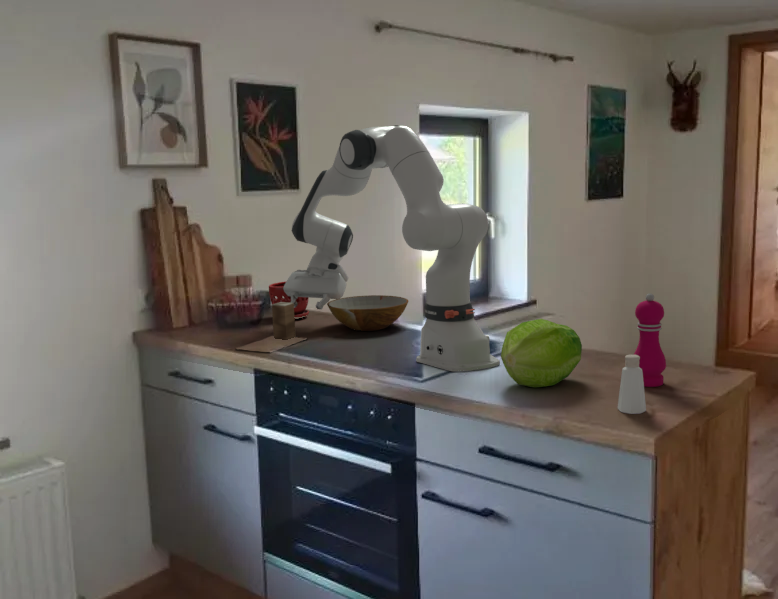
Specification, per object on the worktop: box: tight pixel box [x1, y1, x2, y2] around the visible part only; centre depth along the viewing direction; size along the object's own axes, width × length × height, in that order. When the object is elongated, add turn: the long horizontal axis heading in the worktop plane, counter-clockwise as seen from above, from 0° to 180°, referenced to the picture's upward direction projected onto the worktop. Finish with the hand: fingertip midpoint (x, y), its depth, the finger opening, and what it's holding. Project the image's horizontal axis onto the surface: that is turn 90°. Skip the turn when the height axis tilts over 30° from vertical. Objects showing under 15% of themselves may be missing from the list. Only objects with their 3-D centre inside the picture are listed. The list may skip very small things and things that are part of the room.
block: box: [271, 302, 297, 340], centre depth 235 cm, size 4×4×10 cm
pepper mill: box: [633, 293, 667, 388], centre depth 177 cm, size 7×7×20 cm
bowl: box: [326, 294, 409, 332], centre depth 250 cm, size 25×25×8 cm
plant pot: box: [268, 281, 310, 317], centre depth 269 cm, size 13×13×12 cm
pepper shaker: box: [617, 354, 647, 415], centre depth 159 cm, size 5×5×11 cm
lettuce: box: [500, 318, 583, 388], centre depth 180 cm, size 15×23×16 cm
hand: (305, 307), depth 245 cm, fingers open, 8 cm apart
